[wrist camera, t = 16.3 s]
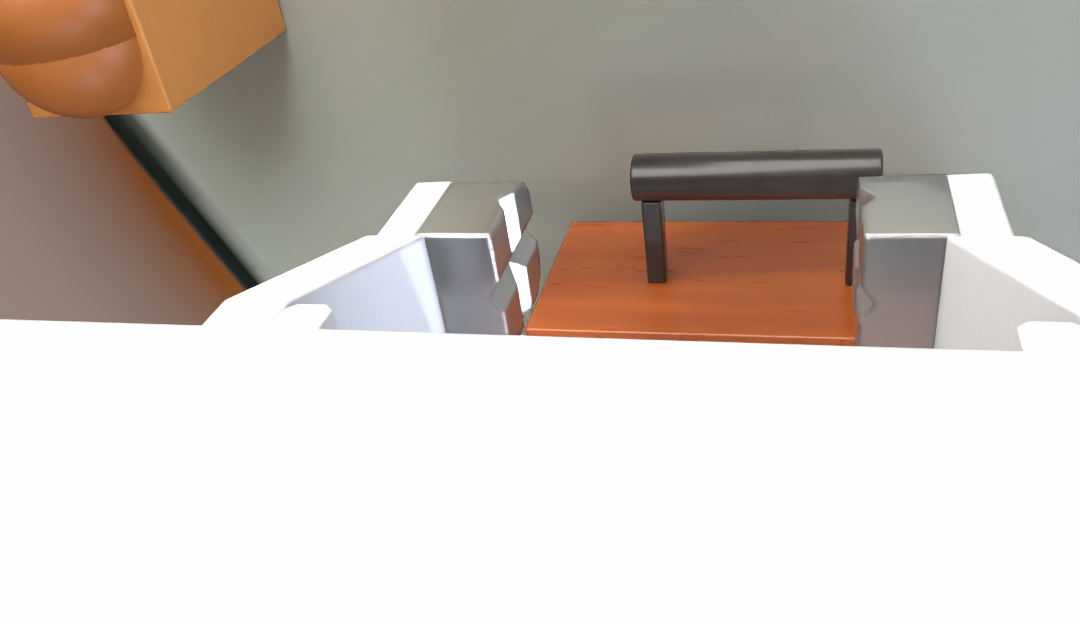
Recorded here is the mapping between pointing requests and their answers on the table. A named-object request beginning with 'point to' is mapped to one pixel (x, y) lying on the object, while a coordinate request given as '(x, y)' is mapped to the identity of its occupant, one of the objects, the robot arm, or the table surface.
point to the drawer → (714, 256)
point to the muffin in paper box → (126, 51)
